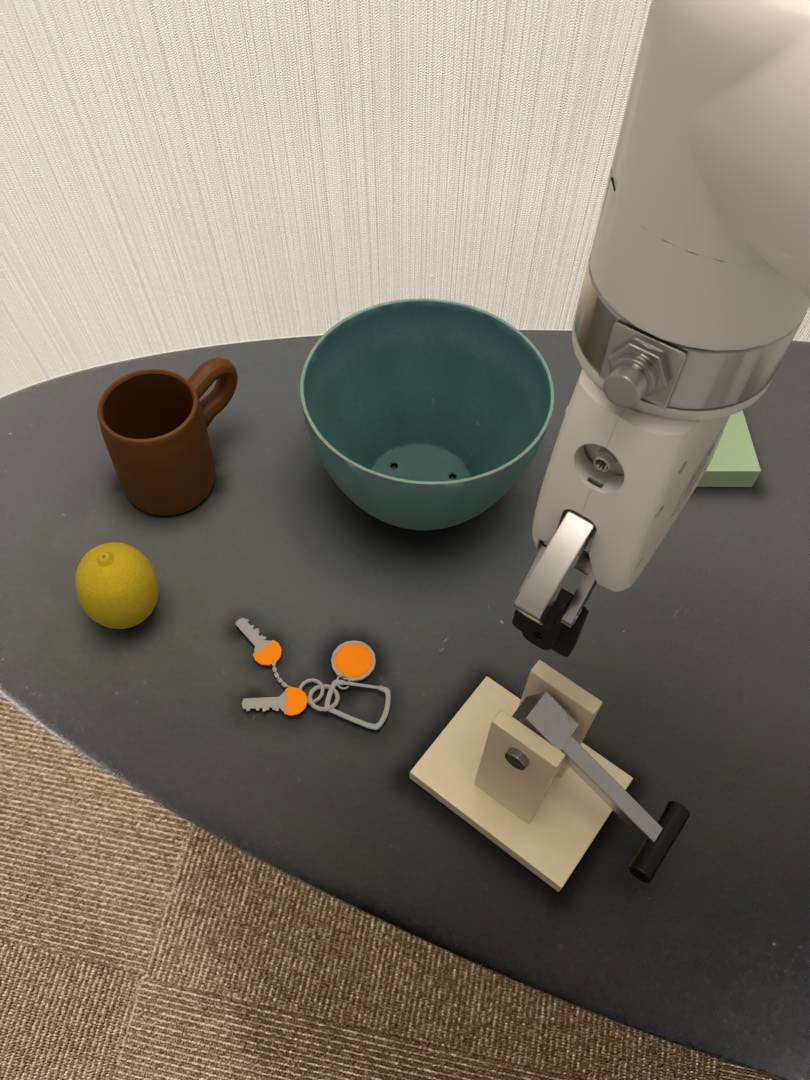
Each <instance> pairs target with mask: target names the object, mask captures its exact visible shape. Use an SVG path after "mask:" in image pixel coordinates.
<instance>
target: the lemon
mask: <svg viewBox="0 0 810 1080" xmlns="http://www.w3.org/2000/svg"><path fill="white" fill-rule="evenodd" d="M74 585H75V593H76V598H77V600H78V602H79V604H80V606H81V608H82V610H83V611H84V613H86V614H87V616H88V617H89V618H90V619H91V620H92V621H94V622H95V623H97V624H98V625H101V626H102V627H105V628H109V629H114V630H115V629H116V630H124V629H130V628H132V627H135V626H138V625H140V624H141V623H143V622H144V621H145V620H146V619H147V618H148V617H149V616H150V615H151V614H152V613H153V610H154V609H155V608H156V605H157V603H158V598H159V594H160V591H159V589H160V588H159V578H158V576H157V573H156V571H155V568H154V566H153V565H152V563H151V562H150V561H149V558H147V557H146V556H145V555H144V553H142V552H141V551H140V550H139V549H137V548H135V547H134V546H132V545H130V544H127V543H123V542H116V541H114V542H105V543H101V544H99V545H96V546H95V547H92V548H91V549H89V550H88V551H87V552H86V553H85V555H83V556H82V558H81V559H80V561H79V563H78V565H77V568H76V572H75V576H74Z"/></svg>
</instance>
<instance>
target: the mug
mask: <svg viewBox="0 0 810 1080" xmlns="http://www.w3.org/2000/svg"><path fill="white" fill-rule="evenodd" d="M238 379H239V378H238V372H237V367H236V365H234V364H233V362H232V361H230V359H229V358H228V359H227V358H225V357H220V356H217V357H213V358H209V359H208V360H206V361H204V362H203V363H201V364H200V365H199V366H198V367H197V368H196V369H195V371H194V372H193V373H192V374H191V375H190V376H189V378H188V379H187V378H185V377H184V376H183V375H180V374H178V373H177V372H174V371H170V370H166V369H159V368H150V369H149V368H147V369H141V370H140V369H139V370H136V371H133V372H130V373H127V374H125V375H123V376H121V377H119V378H118V379H116V380H115V381H113V382H112V383H111V384H110V385H108V387H107V388H106V389H105V390H104V391H103V392H102V394H101V396H100V399H99V401H98V404H97V409H96V410H97V412H96V413H97V419H98V422H99V427H100V432H101V435H102V438H103V441H104V444H105V447H106V450H107V452H108V454H109V458H110V460H111V463H112V466H113V468H114V470H115V473H116V475H117V478H118V481H119V484H120V486H121V489H122V491H123V492H124V494H125V496H126V498H127V500H128V501H129V502H130V503H131V504H132V505H133V506H134V507H136V508H137V509H138V510H140V511H142V512H145V513H147V514H150V515H155V516H162V517H163V516H164V517H165V516H175V515H179V514H183V513H186V512H188V511H190V510H192V509H194V508H196V507H197V506H199V505H200V504H201V503H203V501H204V500H205V499H206V498H207V497H208V496H209V495H210V493H211V491H212V489H213V487H214V484H215V480H216V466H215V460H214V456H213V451H212V446H211V440H210V436H209V432H208V428H209V426H210V425H211V424H212V422H213V420H214V419H215V418H216V417H217V415H219V414H220V413H221V412H222V411H223V410H224V409H225V408H226V407H227V406H228V405H229V403H230V402H231V400H232V398H233V397H234V395H235V393H236V389H237V386H238V381H239V380H238ZM214 382H215V384H214ZM213 384H214V386H213V388H212V389H211V391H210V392H209V393H208V394H207V395H206V396H204V395H205V393H206V392H207V391H208V390H209V389H210V387H211V386H212V385H213ZM203 396H204V397H203ZM202 397H203V398H202ZM201 398H202V399H201ZM200 399H201V400H200Z"/></svg>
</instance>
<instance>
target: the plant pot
mask: <svg viewBox="0 0 810 1080" xmlns="http://www.w3.org/2000/svg"><path fill="white" fill-rule="evenodd" d="M554 388H555V387H554V383H553V377H552V374H551V372H550V369H549V366H548V364H547V362H546V360H545V358H544V357H543V355H542V353H541V352H540V351H539V349H538V348H537V347H536V345H534V343H533V342H532V341H531V340H530V339H529V338H528V337H527V336H526V335H525V334H524V333H523V332H521V331H520V330H519V329H518V328H516V327H515V326H514V325H512V324H511V323H509V322H508V321H506V320H505V319H503V318H501V317H499V316H498V315H495V314H493V313H491V312H489V311H486V310H485V309H481V308H478V307H476V306H473V305H469V304H465V303H461V302H457V301H453V300H447V299H438V298H420V297H419V298H406V299H405V298H404V299H396V300H390V301H386V302H382V303H378V304H374V305H371V306H368V307H366V308H363V309H361V310H359V311H356V312H354V313H351V314H350V315H348V316H346V317H345V318H343V319H342V320H340V321H338V322H337V323H336V324H334V325H333V326H332V327H330V328H329V329H328V330H327V331H325V332H324V333H323V334H322V335H321V336H320V337H319V338H318V339H317V341H316V342H315V344H314V345H313V346H312V348H311V350H310V351H309V353H308V355H307V356H306V359H305V361H304V365H303V368H302V371H301V375H300V382H299V393H300V402H301V408H302V414H303V417H304V421H305V425H306V428H307V431H308V435H309V437H310V439H311V442H312V444H313V448H314V449H315V451H316V453H317V455H318V458H319V459H320V462H321V463H322V465H323V467H324V468H325V470H326V471H327V474H328V475H329V476H330V478H331V479H332V480H333V482H334V483H335V484H336V485H337V487H338V488H339V489H340V490H341V491H342V493H344V495H345V496H346V497H347V498H348V499H350V500H351V502H352V503H353V504H355V505H356V506H357V507H358V508H360V509H361V510H362V511H364V512H366V513H367V514H369V515H370V516H371V517H373V518H376V519H377V520H379V521H381V522H383V523H386V524H388V525H391V526H394V527H397V528H402V529H405V530H411V531H412V530H413V531H436V530H442V529H443V530H444V529H447V528H451V527H454V526H457V525H460V524H463V523H465V522H467V521H470V520H472V519H475V517H477V516H479V515H481V514H483V513H484V512H485V511H487V510H489V508H491V507H492V506H493V505H495V504H496V503H497V502H499V500H501V499H502V498H503V497H504V496H505V495H506V494H507V493H508V492H509V491H510V490H511V489H512V488H513V486H515V484H516V483H517V482H518V481H519V479H520V478H521V477H522V475H523V474H524V473H525V472H526V470H527V468H528V467H529V465H530V464H531V462H532V461H533V460H534V458H535V456H536V454H537V452H538V450H539V448H540V446H541V445H542V442H543V440H544V438H545V435H546V433H547V430H548V428H549V424H550V422H551V418H552V415H553V411H554V407H555V389H554ZM392 465H396V466H397V467H396V468H392V467H391V466H392ZM451 475H454V476H455V478H451V477H450V476H451Z"/></svg>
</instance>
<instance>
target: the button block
mask: <svg viewBox="0 0 810 1080" xmlns="http://www.w3.org/2000/svg"><path fill="white" fill-rule="evenodd" d="M761 473H762V469H761V465H760V463H759V459H758V456H757V452H756V450H755V446H754V443H753V440H752V436H751V433H750V429H749V427H748V423H747V420H746V417H745V413H744V409H743V410H742V411H740V412H738V413H735V414H732V415H730V418H729V420H728V422H727V425H726V427H725V429H724V432H723V434H722V436H721V439H720V441H719V444H718V446H717V448H716V451H715V453H714V455H713V458H712V460H711V462H710V464H709V466H708V468H707V470H706V471H705V473H704V475H703V477H702V479H701V480H700V482H699V484H698V485H697V487H696V488H753V486H754V484H755V483H756V482H757V479H758V478H759V476H760V474H761Z"/></svg>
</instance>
